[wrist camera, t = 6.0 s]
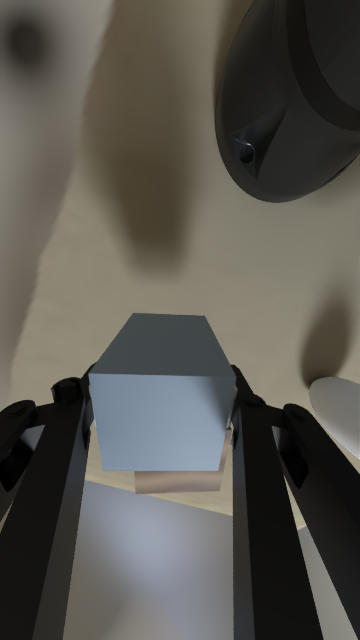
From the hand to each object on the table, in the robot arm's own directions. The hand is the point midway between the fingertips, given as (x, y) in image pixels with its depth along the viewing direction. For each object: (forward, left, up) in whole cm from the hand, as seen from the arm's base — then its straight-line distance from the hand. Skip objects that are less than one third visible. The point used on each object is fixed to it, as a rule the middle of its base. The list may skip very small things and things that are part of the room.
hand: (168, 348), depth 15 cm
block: (0, 0, 0) cm, 0 cm away
